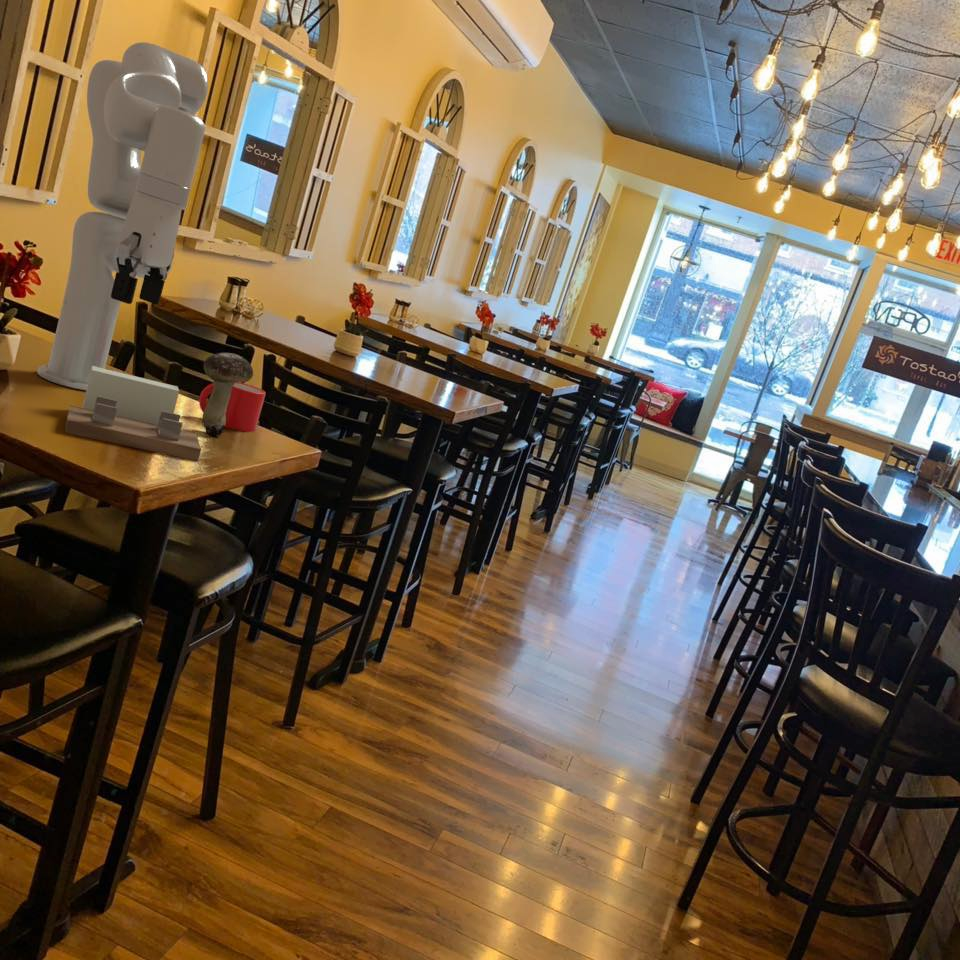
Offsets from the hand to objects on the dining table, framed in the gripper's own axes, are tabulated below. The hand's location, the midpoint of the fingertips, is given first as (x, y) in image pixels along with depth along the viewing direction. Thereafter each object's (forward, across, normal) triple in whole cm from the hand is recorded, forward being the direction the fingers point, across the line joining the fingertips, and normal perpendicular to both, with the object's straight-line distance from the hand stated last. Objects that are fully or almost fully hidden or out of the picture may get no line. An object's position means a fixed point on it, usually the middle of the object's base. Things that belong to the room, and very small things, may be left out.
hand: (135, 301), depth 146 cm
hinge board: (+21, 0, +5) cm, 22 cm away
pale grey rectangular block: (+22, -9, 0) cm, 23 cm away
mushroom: (+22, -21, +10) cm, 32 cm away
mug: (+22, -33, +8) cm, 41 cm away
